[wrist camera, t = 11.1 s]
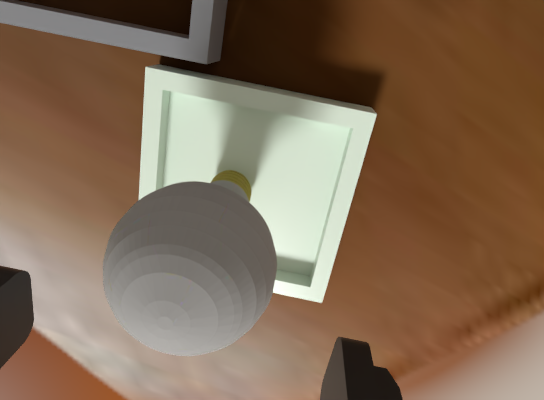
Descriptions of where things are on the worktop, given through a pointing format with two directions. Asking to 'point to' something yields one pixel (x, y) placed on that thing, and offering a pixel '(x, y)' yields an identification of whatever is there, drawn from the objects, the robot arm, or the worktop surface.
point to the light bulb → (191, 266)
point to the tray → (261, 159)
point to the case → (129, 29)
